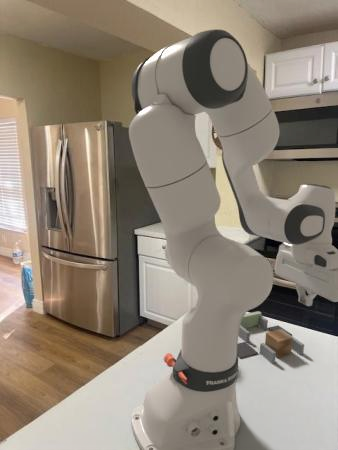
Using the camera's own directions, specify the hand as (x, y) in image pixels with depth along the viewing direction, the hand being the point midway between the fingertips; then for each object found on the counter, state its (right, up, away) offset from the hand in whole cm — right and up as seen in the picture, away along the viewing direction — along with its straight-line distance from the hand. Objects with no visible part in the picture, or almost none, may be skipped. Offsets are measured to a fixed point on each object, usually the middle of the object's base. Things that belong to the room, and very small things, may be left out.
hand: (305, 303), depth 84 cm
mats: (-7, -15, +15) cm, 22 cm away
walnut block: (-4, -16, +10) cm, 19 cm away
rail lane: (-6, -15, +15) cm, 22 cm away
